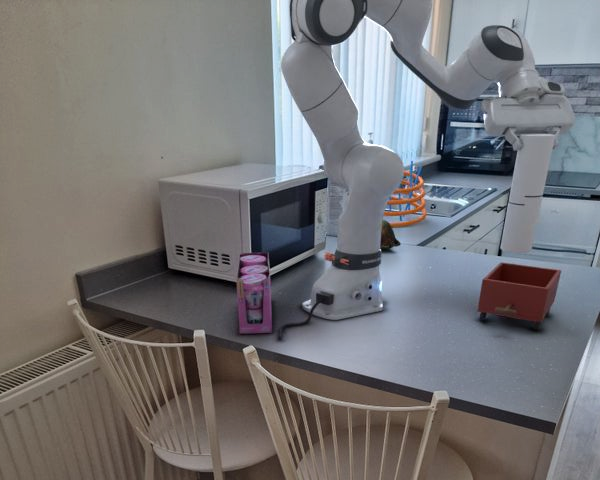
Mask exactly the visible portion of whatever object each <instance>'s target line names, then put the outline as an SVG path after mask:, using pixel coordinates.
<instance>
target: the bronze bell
mask: <svg viewBox="0 0 600 480" xmlns="http://www.w3.org/2000/svg"><path fill="white" fill-rule="evenodd" d="M390 223H391V222H389V221H388V220H387V219H384V218H383V220H382V229H381V241H380V249H381V250H385V251H387V250H389V249H393V248H398V247H400V246H401V244H402V243H401V241H399V240H398V239H397V238H396V234H395V231H394V229H393V227H391V225H390Z"/></svg>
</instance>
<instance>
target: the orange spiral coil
mask: <svg viewBox="0 0 600 480" xmlns="http://www.w3.org/2000/svg"><path fill="white" fill-rule="evenodd" d="M413 167H414V160H410V170H409V171H407V170H404V175H403V176H406V177H409V181H408V180H405V179H402V182H401V184H400V186H399V187H398V188H397V190H396V191H394V192H393V193H392V195H393V194H397V195H398V196H392V195H391V196H390V198H389V200H388V203H387V205H386V206H388V209H389V211H386V210H385V211H384V215H383V217H399V221H400V222H389V223H390V225H391V227H392V228H400V227H407V226H412V225H415V224H419V223H420V222H422V221H424V220H425V219H426V218H427V214H428V213H427V209H426V204H427V202H426V199H425V198H424V197H425V195H426V191H425V189H424V188H423V187H424V184H425V181H424V179H423V178H422V176H420V175H421V171H422V168H423V166H419V169H418V171H417V174H416V173H413ZM413 179H415V180H414V182H413ZM418 182H419V184H417V183H418ZM401 185H404V186H408V187H405V188H401ZM416 191H419V192H420V194H418V193H416ZM401 194H403V195H406V196H408V199H407V198H403V197H401V196H402V195H401ZM418 202H420V203H421V204H419V203H418ZM402 205H405V209H404V210H402ZM392 206H398V209H399V211H392ZM411 206H412V207H415V208H412V209H411ZM418 212H421V213H422V215H421V216H419V217H418V218H416V219H413V220H408V221H403V218H405V217H406V216H409V215H413V214H416V213H418Z"/></svg>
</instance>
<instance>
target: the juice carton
mask: <svg viewBox="0 0 600 480" xmlns="http://www.w3.org/2000/svg"><path fill="white" fill-rule="evenodd" d="M319 169H322V170H324V164H321V165H319V166H318V170H319ZM348 196H349V190H345V189H342V188H339V187H338V186H336V185H335V184H334V183H332V182H331V181H330V180H329V179H328V198H327V225H326V232H327V233H326V235H325V236H332V237H338V218H339V216H340V215H341V214H342V213H343V212H344V210H345V208H346V204H347V201H348Z"/></svg>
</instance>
